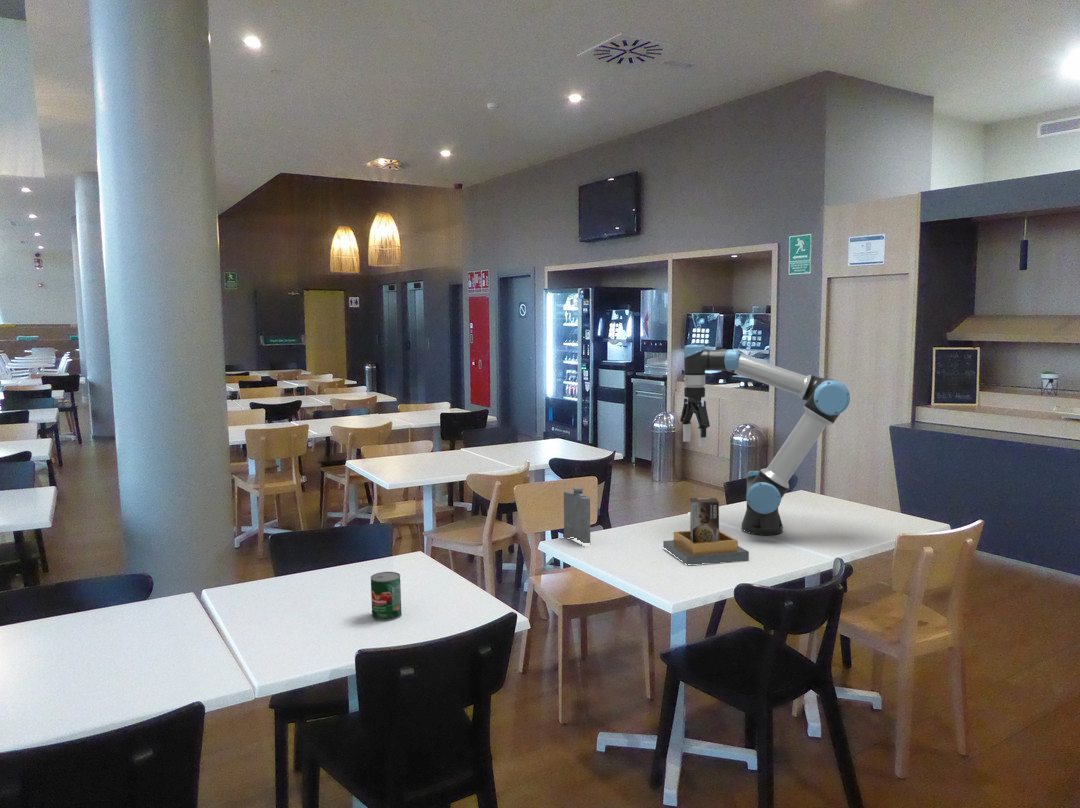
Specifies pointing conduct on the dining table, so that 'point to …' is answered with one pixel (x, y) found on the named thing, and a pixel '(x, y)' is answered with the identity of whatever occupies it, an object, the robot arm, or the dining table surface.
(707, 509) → the coffee box
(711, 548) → the square framed tray
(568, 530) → the hip flask
